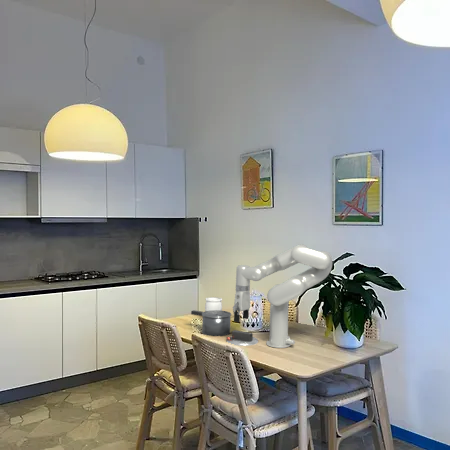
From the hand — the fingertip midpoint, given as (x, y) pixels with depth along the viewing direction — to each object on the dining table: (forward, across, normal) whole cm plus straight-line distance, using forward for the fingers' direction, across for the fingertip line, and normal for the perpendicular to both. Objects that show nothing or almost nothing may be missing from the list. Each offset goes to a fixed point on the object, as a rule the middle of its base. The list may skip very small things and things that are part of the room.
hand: (241, 320), depth 240 cm
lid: (+12, 0, -1) cm, 12 cm away
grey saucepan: (+12, +7, +24) cm, 28 cm away
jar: (+12, +27, +35) cm, 46 cm away
